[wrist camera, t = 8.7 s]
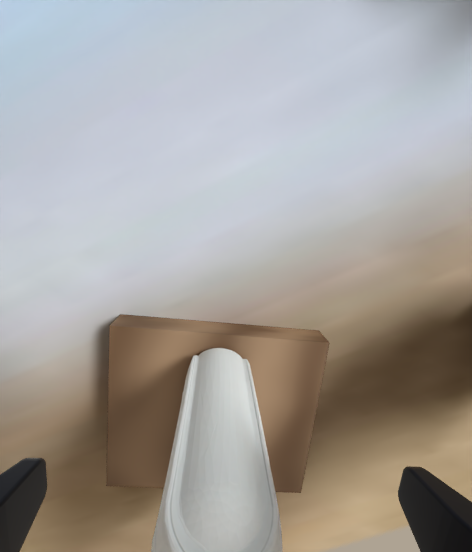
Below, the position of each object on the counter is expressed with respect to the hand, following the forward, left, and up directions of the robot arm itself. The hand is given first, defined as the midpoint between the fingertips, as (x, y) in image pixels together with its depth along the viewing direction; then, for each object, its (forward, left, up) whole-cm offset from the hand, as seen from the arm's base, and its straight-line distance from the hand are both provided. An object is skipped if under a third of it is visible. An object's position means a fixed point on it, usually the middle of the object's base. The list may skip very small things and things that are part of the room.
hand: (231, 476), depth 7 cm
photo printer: (0, +7, -11) cm, 13 cm away
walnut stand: (0, +7, -13) cm, 15 cm away
